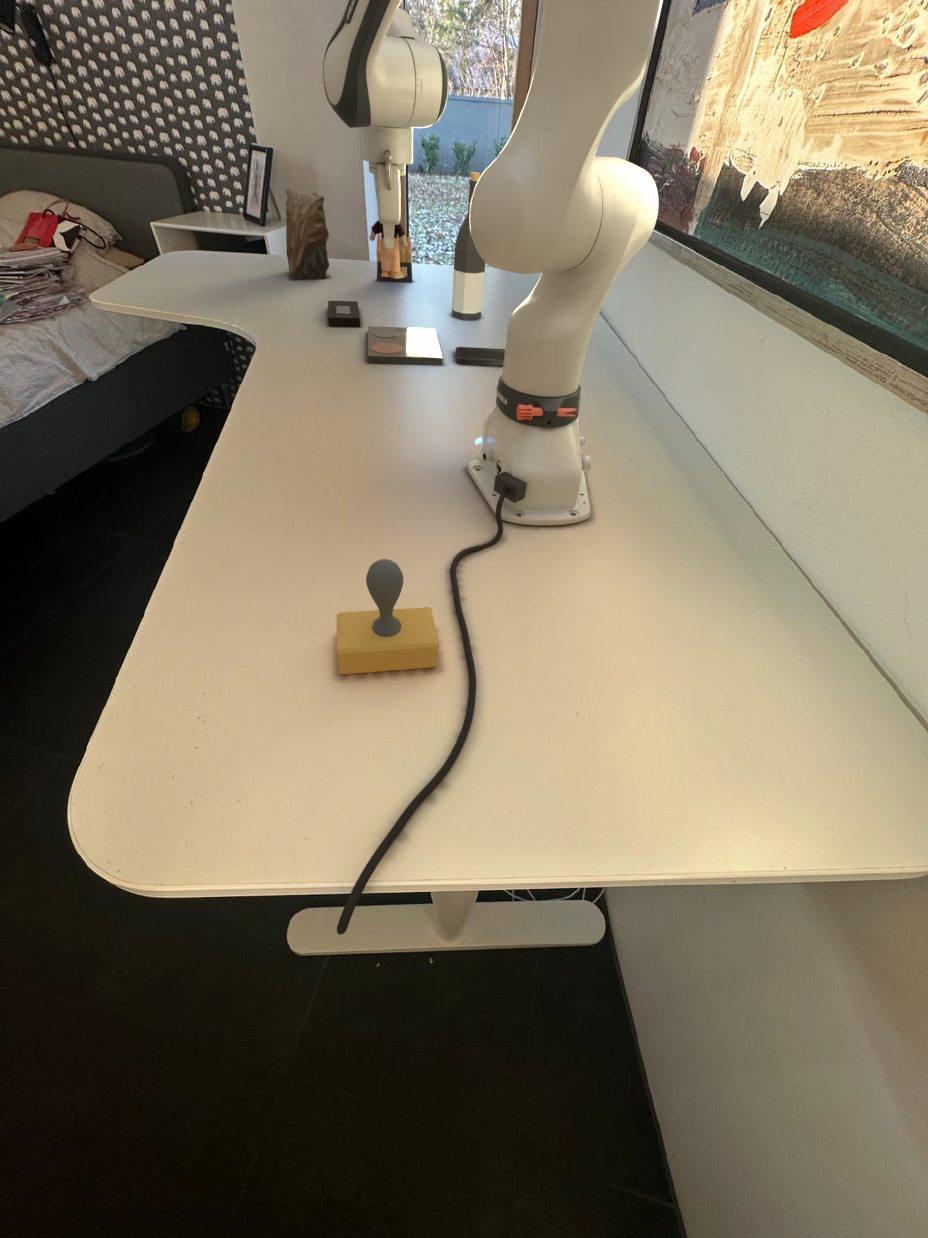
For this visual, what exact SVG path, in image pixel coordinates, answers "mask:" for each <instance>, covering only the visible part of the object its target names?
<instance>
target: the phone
mask: <svg viewBox="0 0 928 1238" xmlns="http://www.w3.org/2000/svg"><path fill="white" fill-rule="evenodd" d="M454 350H455V352H454V353H455V359H456V363H457V364H458V365H472V366H473V365H474V366H490V367H491V366H493V367H494V366H495V367H503V364H504V355H505V348H493V347H492V348H489V347H470V346H456V347H455V349H454Z"/></svg>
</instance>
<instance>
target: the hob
mask: <svg viewBox="0 0 928 1238" xmlns="http://www.w3.org/2000/svg"><path fill="white" fill-rule="evenodd" d="M443 360H444V357H443V354H442V350H441V347H440V343H439V340H438V335H437V332H436V329H435V328H430V327H429V328H427V327H402V326H401V327H400V326H399V327H398V326H395V327H394V326H373V325H372V326H371V325H368V326H367V363H368V364H385V365H419V366H421V365H423V366H424V365H425V366H443V362H444V361H443Z"/></svg>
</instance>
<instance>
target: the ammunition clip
mask: <svg viewBox="0 0 928 1238" xmlns="http://www.w3.org/2000/svg"><path fill="white" fill-rule="evenodd" d="M380 234H381V233H379V234H377V235H376V236H377V237H376V280H377V282H387V283H389V282H391V283H393V282H394V283H413V265H412V263H413V261H412V259H413V258H412V256H413V255H412V254H413V253H412V241H411V240H412V239H411V236H410V234H408V235H407V237H406V242H407V243H408V246H407V247H406V248H404V247H403V246H402V242H401V241H400V240H399V239H400V238H399V236H398V234H397V238H398V242H399V243H400V249H399V259H400V272H402V273H403V275H404V278H398V279H395V278H391V276H389V277H382V276H381V273H382V272H383V271H382V267H381V235H380ZM391 273H392V274H393V273H394V272H393V271H391Z"/></svg>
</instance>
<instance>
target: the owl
mask: <svg viewBox="0 0 928 1238" xmlns="http://www.w3.org/2000/svg"><path fill="white" fill-rule="evenodd" d="M286 195H287V198H286V203H285V206H286V209H285V211H286V212H285V220H286V222H285V223H286V231H285V235H286V236H285V237H286V239H285V240H286V241H285V243H286V258H287V264H288V271H289V279H290V280H291V281H301V280H304V281H305V280H326V279H329V278H330V277H329V276H328V274H327V272H328V269H329V268H330V261H329V254H328V248H327V247H328V246H327V245H328V240H329V235H330V234H329V229H328V228H327V223H326V214H325V213H326V212H325V208H324V202H325V197H324V196H323V195H321V196H320V195H318V194H317V192H310V193H309V192H308V193H307V192H301V191H297V190H295V189H291V188H288V189H286Z"/></svg>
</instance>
